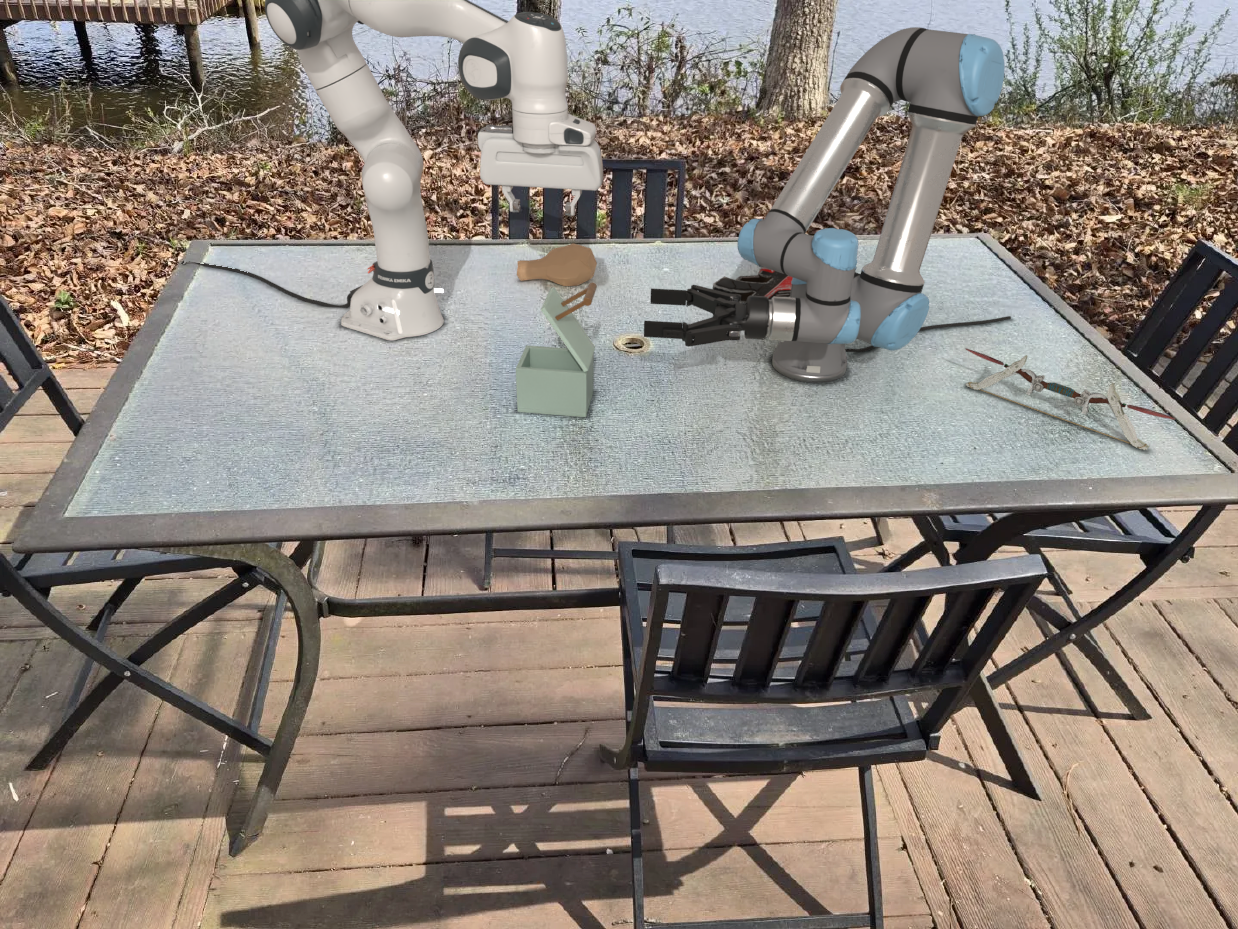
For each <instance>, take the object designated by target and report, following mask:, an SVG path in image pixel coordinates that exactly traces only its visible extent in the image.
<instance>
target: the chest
mask: <svg viewBox="0 0 1238 929" xmlns="http://www.w3.org/2000/svg"><path fill="white" fill-rule="evenodd" d="M594 354H595V353H593V356H592V359H591V363H590V366H589V369H588V371H586V372H584V371H583V369H582V368H581V366H580V365H579V364H578V362H577V361H576V359H575V358H574V357H573V355H572V354H571V352H570V351H569V349H568V348H567V347H553V346H543V345H542V346H539V345H525V348H524V349H523V352H522V354H521V355H520V358H519V360H518V363H517V365H516V367H515V384H516V408H517V413H527V414H537V415H538V414H539V415H550V416H551V415H552V416H563V417H565V416H566V417H576V418H577V417H578V418H587V416H588V413H589V409H590V405H591V402H592V399H593V395H594V370H595V369H594V358H595V356H594Z"/></svg>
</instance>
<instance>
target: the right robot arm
mask: <svg viewBox="0 0 1238 929" xmlns="http://www.w3.org/2000/svg"><path fill="white" fill-rule="evenodd" d="M1005 67H1006V66H1005V57H1004V52H1003V49H1002V47H1001V45H1000V43H999V42H997V41H996V40H995V39H993V38H990V37H986V36H982V35H977V34H975V33H963V32H953V31H945V30H937V29H929V28H925V27H920V26H916V27H907V28H903V29H900V30H897V31H895V32H893V33H891V34H889V35H887V36H886V37H884V38H882V39H880V40H879V41H878V42H876V43H875V44H874V45H873V46H872V47H871V48H869V49H868V50H867V51H866V52H864V54H863V55H862V56H861V57H860V58H858V60H857V61H856V62H855V63H854V65H853V66H852V67H851V68H850V70H849V71H848V73H847V74H846V76H845V78H844V79H843V81H841V84H840V87H839V90H840V96H839V98H838V100H837V101H836V103H835V104H834V106H833V107H832V109H831V111H830V113H829V114H828V116H827V117H826V119H825V121H824V122H823V123H822V126H821V127H820V128H819V130H818V132H817V133H816V135H815V137H813V138H814V139H813V140H812V141H811V143H810V145H809V146H808V148H807V150H806V151H805V153H804V154H803V156H802V158H801V159H800V161H799V163H798V164H797V166H796V167H795V169H794V171H793V172H792V174H791V176H790V177H789V179H788V181H787V182H786V184H785V185H784V187H783V189H782V190H781V191H780V194H779V195H778V197H777V198H776V200H775V202H774V203H773V205H772V206H771V208H770V210H769V211H768V213H767V214H766V216H765V217H764V219H763V218H752V219H750V220H749V221H748V222H746V223H744V225H743V226H742V228H741V230H740V232H739V234H738V237H737V252H738V254H739V256H740V257H741V258H742V259H744V260H745V261H747V262H749V263H752V264H754V265H756V266H758V267H760V268H761V267H765V268H768V269H771V270H774V271H777V272H780V273H783V274H785V275H788V276H790V277H793V279H792V281H791V284H792V286H791V293H790V297H773V298H772V299H771V300H769V298H767V296H749V297H748V298H747V303H741V295H739V294H729V293H725V292H721V291H717V290H713V288H709V287H705V286H701V285H698V284H691V286H690V288H688V289H669V288H652V287H651V288H650V302H649V304H650V305H667V306H683V307H684V306H685V307H686V308H688V307H690V306H694V307H696V308H698V309H700V310H703V311H706V312H708V313H710V314H712V316H711V317H708V318H704V319H702V320H698V321H695V322H692V323H688V322H685V321H683V322H679V321H678V322H677V321H661V320H659V321H658V320H644V321H643V338H657V339H674V340H675V339H676V340H682V342H684V346H685V347H688V348H689V347H696V346H697V347H698V346H702V345H707V344H714V343H720V342H726V341H740V340H741V333H742V332H743V336H744V339H746V340H759V341H760V340H761V341H763V340H764V339H765V340H766V337H767V338H768V339H769V341H778V343H777V345H776V347H775V348H774V351H773V353H772V360H771V364H772V367H773V368H774V370H775V371H777V372H778V373H779V374H780V375H782V376H784V377H786V378H789V379H791V380H794V381H798V382H802V383H808V384H809V383H810V384H824V383H830V382H835V381H837V380H839V379H841V378H842V377H844V376H845V374H846V372H847V367H848V357H847V353H863V352H868V351H870V350H873V349H874V348H875V349H876V348H881V349H884V350H887V351H891V352H892V351H894V352H895V351H898V350H901V349H903V348H904V347H906V346H907V345H908V344H909V343H910V342H911V341H912V340H913V339H914V338H915V337H916V336H917V334H918V333H919V332H922V331H927V330H934V329H941V328H951V327H962V326H972V325H973V326H974V325H984V324H990V323H996V322H1002V321H1008V320H1011V318H1012V317H1011V315H1007V316H1003V317H997V318H991V319H984V320H974V321H963V322H962V321H961V322H953V323H943V324H942V323H941V324H933V325H926V326H923V325H924V323H925V321H926V319H927V316H928V314H929V310H930V306H929V305H930V299H929V297H928V296H926V293H923V288H924V287H925V286H924V285H925V283H926V282H925V280H924V278H923V276H922V275H921V268H922V265H923V261H924V258H925V254H926V251H927V248H928V246H929V242H930V239H931V235H932V233H933V229H934V226H935V223H936V220H937V217H938V214H939V211H940V208H941V204H942V202H943V199H944V196H945V192H946V189H947V186H948V183H949V179H950V177H951V174H952V170H953V167H954V164H955V161H956V158H957V155H958V153H959V149H960V146H961V142H962V139H963V136H964V135H965V134H966V133H968V132H969V131H971V130H972V129H974V128H976V125H977V122H978V120H979V117H983V116H987V115H989V114H990V113H991V112H992V111H993V109H994V108H995V104H997V103H998V101H999V98H1000V95H1001V93H1002V89H1003V85H1004V80H1005V70H1006V69H1005ZM899 101H903V102H908V103H909V106H908V109H907V112H906V114H907V117H908V118H909V120H910V122H911V125H912V126H911V130H910V133H909V138H908V139H907V140H908V141H907V142H906V143H907V144H906V147H905V151H904V154H903V157H902V161H901V164H900V166H899V171H898V174H897V178H896V180H895V184H894V187H893V191H892V195H891V198H890V202H889V204H888V208H887V212H886V215H885V218H884V221H883V225H882V228H881V232H880V235H879V238H878V242H877V246H876V249H875V252H874V256H873V259H872V260H871V261H870V262H869V263H867V264H865V265H864V266H862V267H861V270H860V273H858V272H856V271H857V268H858V267H857V265H858V250H859V239H858V237H857V235H856V234H854V233H853V232H852V231H849V230H847V229H843V228H835V227H827V228H821V229H819V230H817V231H816V232H815V233H814V235H810V234H807V231H808V230H809V228H810V226H812V223H813V222H814V220H815V219H816V217H817V215H818V214H819V212H820V211H821V209H822V207H823V206H824V204H825V202H826V201H827V199H828V198H829V196H830V194H831V193H832V191H833V189H834V188H835V186H836V185H837V183H838V181H839V180H840V178H841V177H842V175H843V174H844V172H845V170H846V169H847V167H848V166H849V164H850V162H851V160H852V159H853V157H854V156H855V154H856V153H857V151H858V149H859V148H860V147H861V145H862V144H863V141H864V140H865V138H866V137H867V135H868V133H869V131H870V130H871V128H872V127H873V125H874V124H875V122H876V121H877V119H878V117H882V116H885V115H886V114H887V113H888V112H889V110H890V109H891V107H892V106H893V104H895V103H896V102H899ZM856 340H859V341H861V342H864V343H866V344H869V346H866V347H863V348H846V345H845V344H852V343H854V342H855V341H856Z"/></svg>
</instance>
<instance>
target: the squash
mask: <svg viewBox="0 0 1238 929" xmlns="http://www.w3.org/2000/svg"><path fill="white" fill-rule="evenodd" d="M516 264H517V269H516V276H517V278H518V279H519V281H520V282H523V281H528V280H545V281H551V282H552V283H555V284H558V285H559V286H563V287H577V286H580V285H582V284H584V283H585V282H588V281H590V280H591V279H593V277H594V276H595V272H596V270H597V265H598V261H597V260H596V258H595V254H594V252H593V250H592V248H591V247H587V246H584V245H581V244H577V243H574V242H572V243H569V244H566V245H564V246H558V247H554V248H552V249H551V250H550V251H549V252H548V253H547V254H546V255H545V256H543V257H541V258H538V259H529V260H527V259H526V260H523V259H521V260H518V261H517V263H516Z"/></svg>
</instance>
